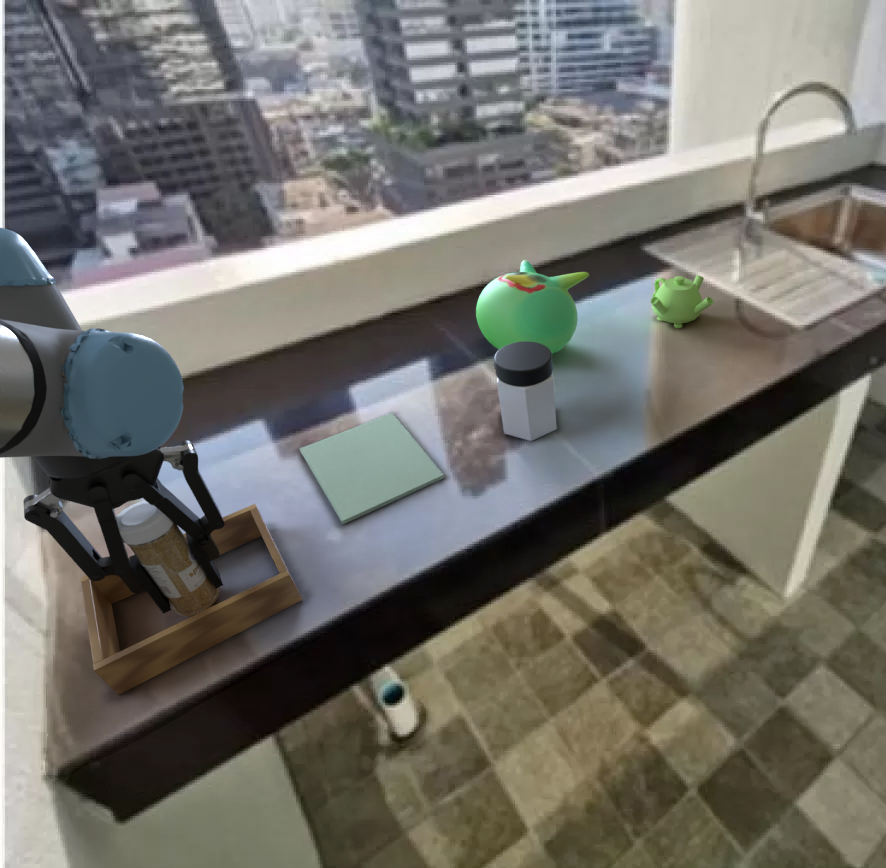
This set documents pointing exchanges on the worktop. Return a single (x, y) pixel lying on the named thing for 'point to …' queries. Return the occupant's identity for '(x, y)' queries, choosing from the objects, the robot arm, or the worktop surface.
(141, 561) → the spice bottle
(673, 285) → the teapot
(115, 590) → the wooden tray
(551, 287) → the toy bird
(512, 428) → the jar
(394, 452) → the mat
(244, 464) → the worktop surface
